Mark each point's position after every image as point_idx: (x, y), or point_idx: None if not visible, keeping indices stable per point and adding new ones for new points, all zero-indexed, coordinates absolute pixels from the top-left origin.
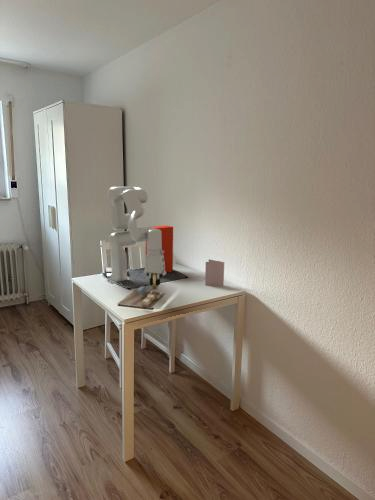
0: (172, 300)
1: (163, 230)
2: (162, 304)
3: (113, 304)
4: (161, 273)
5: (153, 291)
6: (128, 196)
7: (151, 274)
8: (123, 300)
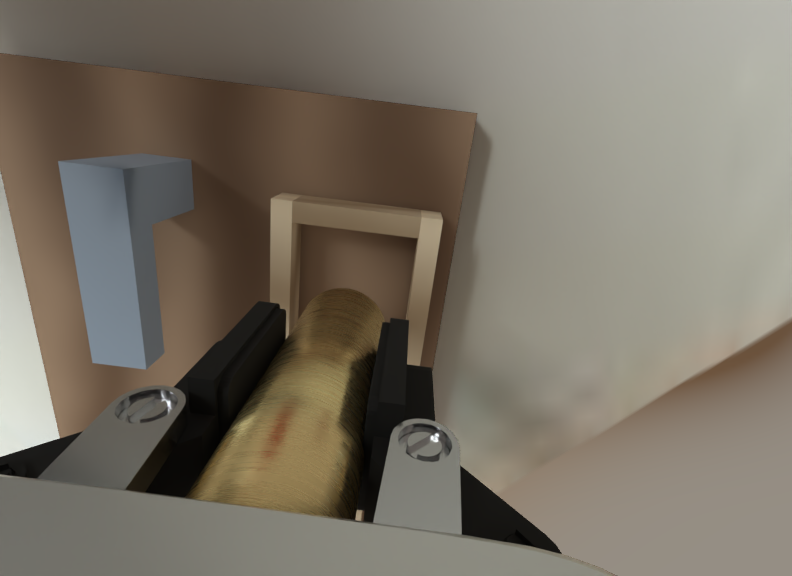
0: (573, 265)
1: None
2: (473, 388)
3: (33, 443)
4: None
5: (305, 204)
6: None
7: (119, 477)
8: (77, 425)
